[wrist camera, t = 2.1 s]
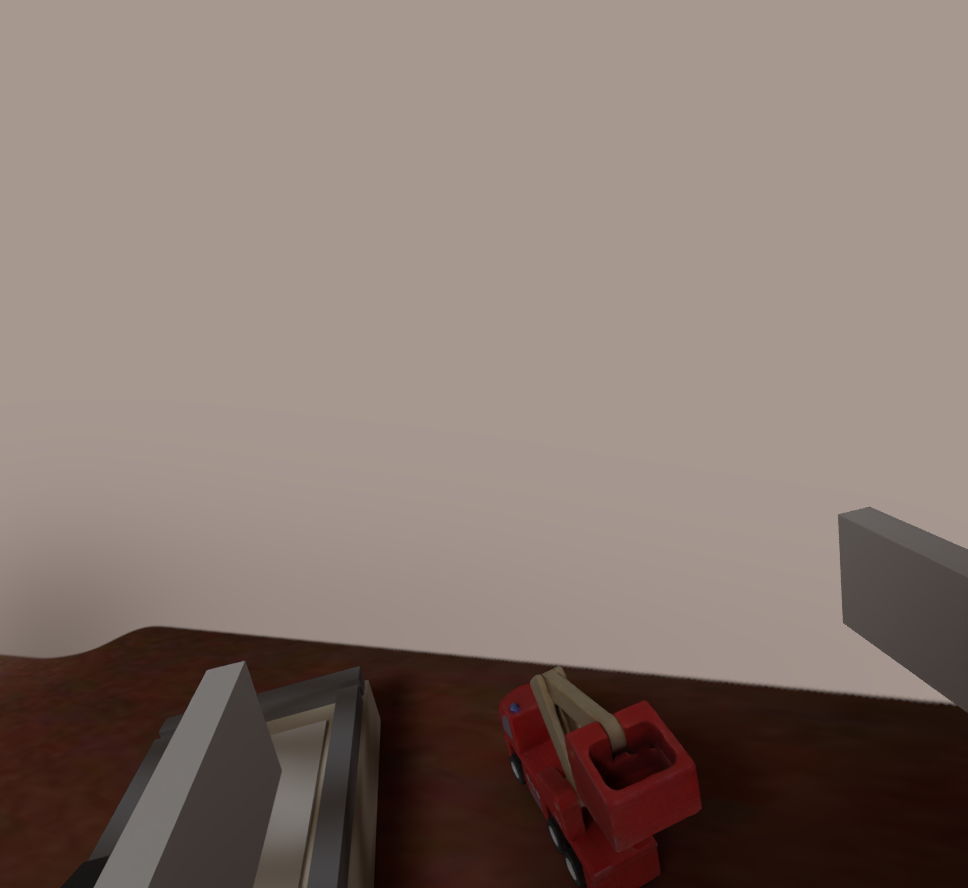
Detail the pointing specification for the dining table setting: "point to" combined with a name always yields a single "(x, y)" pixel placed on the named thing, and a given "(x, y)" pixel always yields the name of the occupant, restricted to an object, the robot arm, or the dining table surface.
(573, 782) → the toy fire truck
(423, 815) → the dining table surface
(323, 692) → the dock
